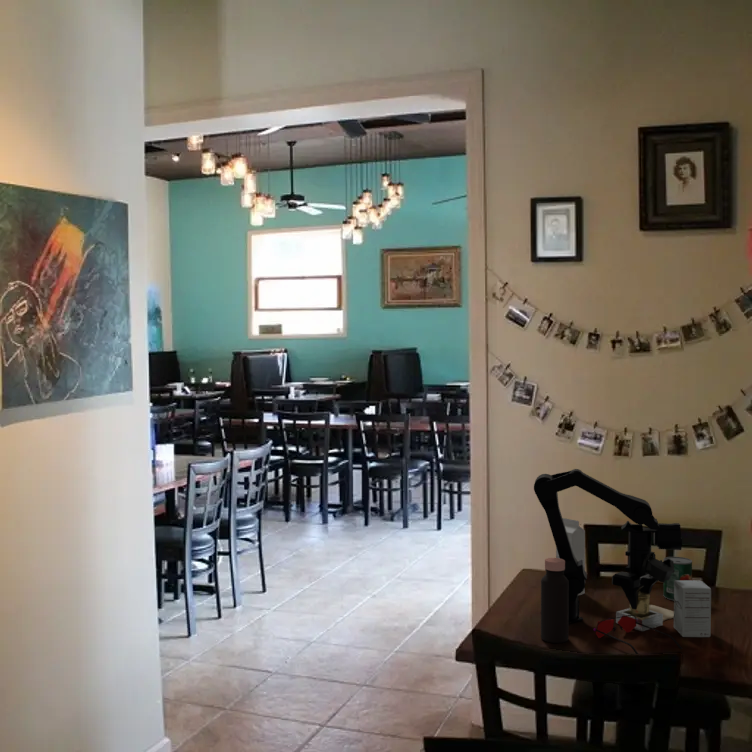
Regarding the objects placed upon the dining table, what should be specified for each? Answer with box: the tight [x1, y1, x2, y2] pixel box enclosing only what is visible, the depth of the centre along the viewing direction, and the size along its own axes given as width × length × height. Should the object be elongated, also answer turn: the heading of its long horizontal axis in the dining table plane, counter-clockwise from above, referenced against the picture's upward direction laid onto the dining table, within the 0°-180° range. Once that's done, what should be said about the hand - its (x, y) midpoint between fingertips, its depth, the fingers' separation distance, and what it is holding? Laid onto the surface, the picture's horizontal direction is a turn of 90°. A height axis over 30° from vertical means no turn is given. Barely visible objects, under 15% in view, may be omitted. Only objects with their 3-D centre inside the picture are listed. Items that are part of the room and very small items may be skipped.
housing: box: [615, 607, 664, 632], centre depth 237 cm, size 8×8×3 cm
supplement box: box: [673, 579, 712, 638], centre depth 230 cm, size 7×7×13 cm
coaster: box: [649, 604, 674, 622], centre depth 246 cm, size 10×10×1 cm
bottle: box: [540, 557, 570, 644], centre depth 226 cm, size 7×7×20 cm
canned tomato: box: [662, 556, 693, 602], centre depth 261 cm, size 8×8×11 cm
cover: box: [629, 591, 651, 618], centre depth 237 cm, size 5×5×8 cm
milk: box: [555, 517, 586, 596], centre depth 265 cm, size 6×6×22 cm
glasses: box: [593, 615, 683, 655], centre depth 223 cm, size 14×16×5 cm
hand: (639, 606), depth 237 cm, fingers closed on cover, 5 cm apart
